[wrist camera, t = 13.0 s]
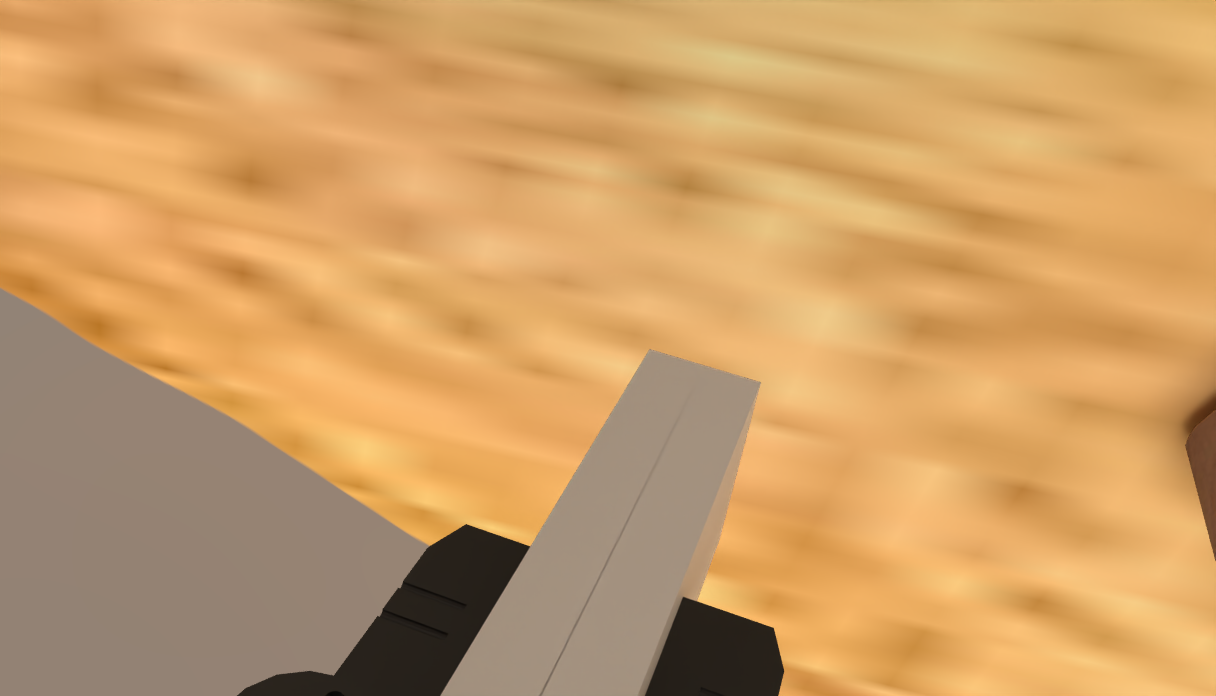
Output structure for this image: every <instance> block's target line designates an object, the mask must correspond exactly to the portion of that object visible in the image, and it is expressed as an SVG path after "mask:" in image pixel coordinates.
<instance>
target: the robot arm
mask: <svg viewBox="0 0 1216 696" xmlns="http://www.w3.org/2000/svg"><path fill="white" fill-rule="evenodd" d="M760 384H761V382H758V381H755V380H751V379H748V378H745V377H741V376H738V375H735V374H731V373H728V372H725V371H721V370H718V369H714V368H711V367H708V366H704V365H701V364H698V363H694V362H691V361H688V360H684V359H681V358H678V357H674V356H671V355H667V354H664V353H661V352H657V351H654V350H651V349H650V350H649V351H648V353H647V354H646V356H645V358H644V359H643V361H642V363H641V364H640V366H639V368H638V369H637V371H636V373H635V374H634V376H633V378H632V379H631V381H630V383H629V384H628V386H627V388H626V389H625V391H624V393H623V394H622V396H621V398H620V399H619V401H618V403H617V404H616V406H615V407H614V409H613V411H612V412H611V414H610V416H609V417H608V419H607V421H606V422H605V424H604V426H603V427H602V429H601V431H600V432H599V434H598V436H597V437H596V439H595V441H594V442H593V444H592V446H591V447H590V449H589V451H588V452H587V454H586V455H585V457H584V459H583V460H582V462H581V464H580V465H579V467H578V469H577V470H576V472H575V474H574V475H573V477H572V479H571V480H570V482H569V484H568V485H567V487H566V489H565V490H564V492H563V494H562V495H561V497H560V499H559V500H558V502H557V503H556V505H555V507H554V508H553V510H552V512H551V513H550V515H549V517H548V518H547V520H546V522H545V523H544V525H543V527H542V528H541V530H540V532H539V533H538V535H537V537H536V538H535V540H534V542H533V543H532V545H531V547H530V546H527V545H524V544H522V543H519V542H516V541H513V540H510V539H507V538H504V537H501V536H499V535H496V534H493V533H490V532H487V531H484V530H481V529H478V528H475V527H473V526H470V525H467V524H466V525H464V526H462V527H461V528H459V529H458V530H456V531H454V532H453V533H451V534H449V535H448V536H446V537H444V538H443V539H441V540H439V541H438V542H436V543H435V544H433V545H431V546H430V547H428V548H427V549H426V551H425V552H424V554H423V555H422V556H421V558H420V559H419V560H418V562H417V563H416V564H415V566H414V567H413V568H412V570H411V571H410V573H409V574H408V575H407V577H406V578H405V579H404V581H403V584H402V587H401V588H398V589H397V590H396V592H395V593H394V594H393V596H392V597H391V599H390V600H389V601H388V603H387V604H386V605H385V607H384V608H383V611H382V614H381V616H380V617H379V616H377V618H376V619H375V620H374V622H373V623H372V625H371V626H370V627H369V628H368V630H367V631H366V633H365V634H364V635H363V637H362V638H361V639H360V641H359V642H358V644H357V645H356V646H355V648H354V649H353V650H352V652H351V653H350V654H349V656H348V657H347V658H346V660H345V661H344V663H343V664H342V665H341V667H340V668H339V669H338V671H337V672H336V673H335V675H334V676H333V675H327V674H323V673H318V672H313V671H307V672H306V671H305V672H297V673H288V674H279V675H275V676H273V677H271V678H268V679H266V680H264V681H261V682H259V683H257V684H254V685H252V686H250V687H247V688H246V689H244V690H243V691H242V692H241V693H240V694H239V695H237V696H778V695H779V690H780V686H781V682H782V678H783V674H784V668H783V664H782V660H781V656H780V652H779V648H778V644H777V640H776V635H775V631H774V628H772V627H769V626H766V625H764V624H761V623H758V622H755V621H752V620H749V619H746V618H743V617H740V616H738V615H735V614H732V613H729V612H726V611H723V610H720V609H717V608H714V607H712V606H709V605H706V604H703V603H700V602H697V599H698V597H699V594H700V591H701V588H702V586H703V583H704V580H705V578H706V575H707V572H708V569H709V567H710V564H711V561H712V559H713V556H714V553H715V550H716V548H717V545H718V542H719V539H720V535H721V532H722V528H723V524H724V520H725V516H726V513H727V509H728V505H729V501H730V497H731V494H732V490H733V486H734V482H735V479H736V475H737V471H738V467H739V463H740V460H741V456H742V452H743V448H744V444H745V441H746V437H747V433H748V429H749V425H750V422H751V418H752V414H753V410H754V406H755V403H756V399H757V395H758V391H759V387H760Z"/></svg>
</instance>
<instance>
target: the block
mask: <svg viewBox="0 0 1216 696" xmlns="http://www.w3.org/2000/svg"><path fill="white" fill-rule="evenodd" d="M1185 446H1186V450H1187V454H1188V457H1189V461H1190V465H1191V469H1192V473H1193V477H1194V480H1195V484H1196V488H1197V492H1198V496H1199V500H1200V503H1201V507H1202V511H1203V515H1204V519H1205V523H1206V526H1207V530H1208V534H1209V538H1210V542H1211V546H1212V549H1213V553H1214V557H1215V561H1216V409H1215V410H1214V411H1213V412H1212V413H1211V414H1209V415H1208V416H1207V417H1206V418H1205V419H1203V420H1202V421H1201V422H1200V423H1199V424H1198V425H1196V426H1195V427H1194V429H1193V431H1192V432H1191V434H1190V436H1189V437H1188V440H1187V442H1186V445H1185Z"/></svg>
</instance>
